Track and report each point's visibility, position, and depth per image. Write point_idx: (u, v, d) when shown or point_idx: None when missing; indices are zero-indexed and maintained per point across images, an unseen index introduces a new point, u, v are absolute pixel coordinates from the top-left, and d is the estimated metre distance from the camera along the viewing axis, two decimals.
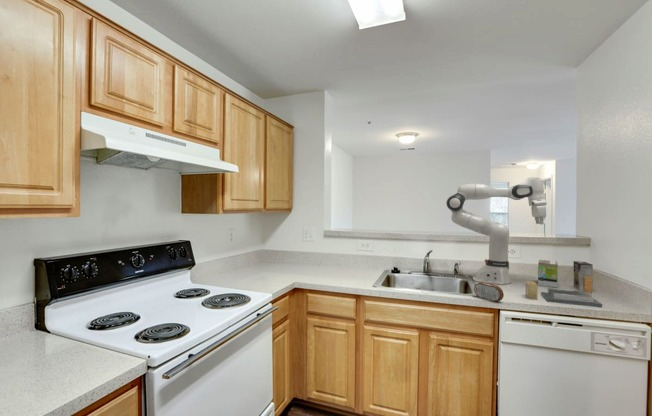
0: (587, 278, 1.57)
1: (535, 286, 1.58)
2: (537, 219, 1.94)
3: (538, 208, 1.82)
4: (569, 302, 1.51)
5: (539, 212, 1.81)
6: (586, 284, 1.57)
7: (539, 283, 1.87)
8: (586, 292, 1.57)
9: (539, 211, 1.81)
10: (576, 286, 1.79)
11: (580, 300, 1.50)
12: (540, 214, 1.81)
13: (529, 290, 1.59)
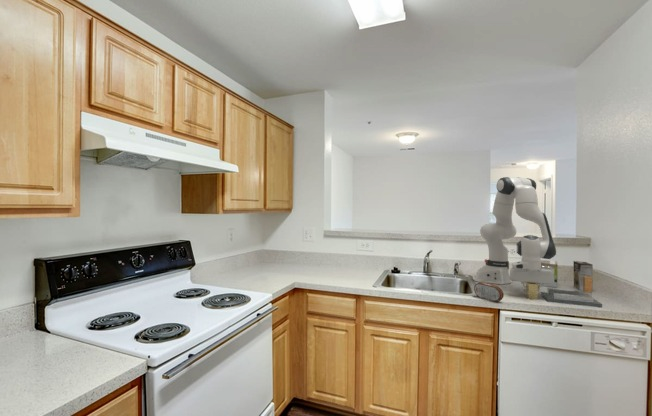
0: (587, 278, 1.57)
1: (535, 286, 1.58)
2: (538, 286, 1.61)
3: (510, 270, 1.68)
4: (569, 302, 1.51)
5: None
6: (586, 284, 1.57)
7: None
8: (586, 292, 1.57)
9: None
10: (576, 286, 1.79)
11: (580, 300, 1.50)
12: None
13: (529, 290, 1.59)
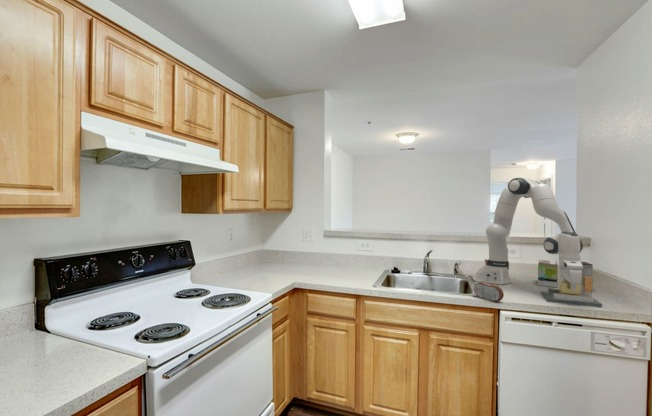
0: (587, 278, 1.57)
1: None
2: (566, 281, 1.61)
3: (572, 273, 1.48)
4: (569, 302, 1.51)
5: (572, 278, 1.47)
6: (586, 284, 1.57)
7: (539, 283, 1.87)
8: (586, 292, 1.57)
9: (572, 277, 1.48)
10: None
11: (580, 300, 1.50)
12: (573, 280, 1.47)
13: None
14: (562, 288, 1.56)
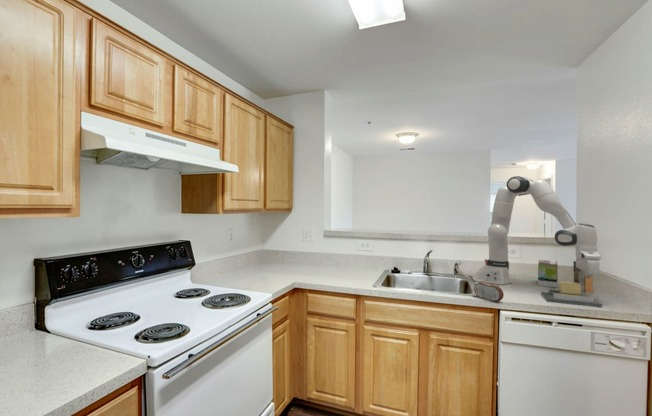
0: (588, 278, 1.56)
1: None
2: None
3: (590, 263, 1.52)
4: (569, 302, 1.51)
5: (590, 268, 1.51)
6: (587, 284, 1.57)
7: (539, 283, 1.87)
8: (587, 292, 1.56)
9: (590, 267, 1.51)
10: None
11: (580, 300, 1.50)
12: (591, 270, 1.51)
13: None
14: (562, 288, 1.56)
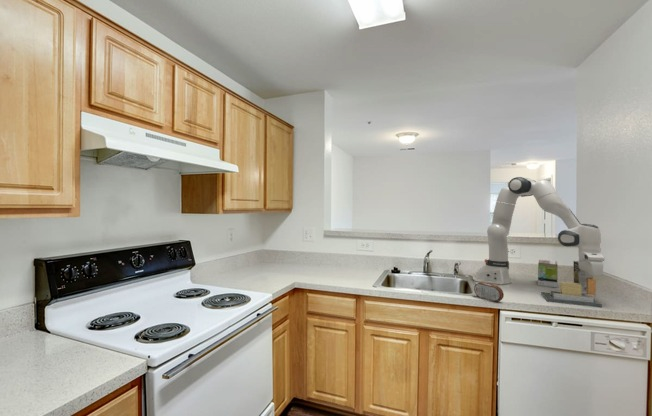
0: (590, 280, 1.53)
1: None
2: None
3: (593, 264, 1.48)
4: (569, 302, 1.51)
5: (594, 270, 1.48)
6: (589, 286, 1.53)
7: (539, 283, 1.87)
8: (589, 294, 1.53)
9: (594, 268, 1.48)
10: None
11: (580, 300, 1.50)
12: (595, 272, 1.47)
13: None
14: (563, 288, 1.55)
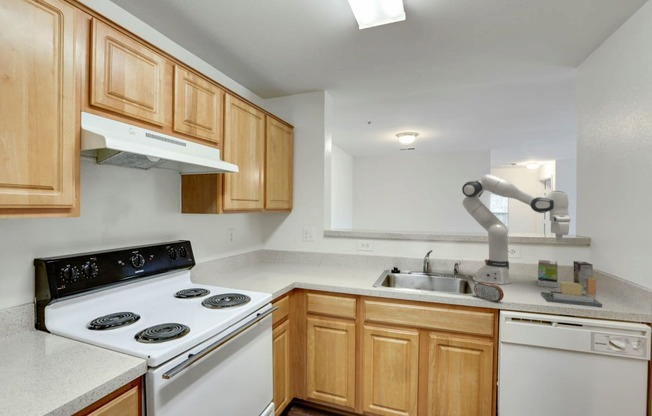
0: (590, 280, 1.53)
1: None
2: None
3: (560, 225, 1.67)
4: (569, 302, 1.51)
5: (561, 229, 1.67)
6: (589, 286, 1.53)
7: (539, 283, 1.87)
8: (589, 294, 1.53)
9: (561, 228, 1.67)
10: None
11: (580, 300, 1.50)
12: (562, 231, 1.67)
13: None
14: (563, 288, 1.55)
